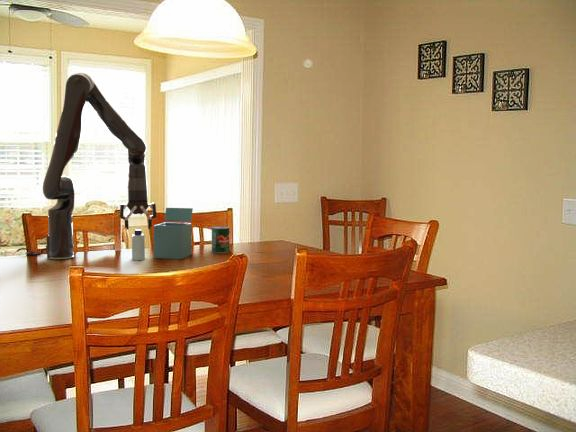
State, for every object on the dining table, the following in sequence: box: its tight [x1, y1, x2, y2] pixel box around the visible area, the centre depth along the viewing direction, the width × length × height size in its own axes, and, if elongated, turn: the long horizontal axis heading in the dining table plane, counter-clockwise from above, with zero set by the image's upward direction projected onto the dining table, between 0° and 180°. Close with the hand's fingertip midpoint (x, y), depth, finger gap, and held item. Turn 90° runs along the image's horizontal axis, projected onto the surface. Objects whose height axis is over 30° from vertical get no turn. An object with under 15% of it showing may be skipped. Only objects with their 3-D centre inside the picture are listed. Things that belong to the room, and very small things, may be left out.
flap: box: [164, 207, 194, 223], centre depth 258 cm, size 12×6×1 cm
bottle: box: [131, 229, 146, 261], centre depth 244 cm, size 5×5×12 cm
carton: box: [153, 221, 192, 260], centre depth 252 cm, size 12×12×14 cm
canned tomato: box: [211, 225, 231, 254], centre depth 266 cm, size 8×8×11 cm
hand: (138, 229), depth 244 cm, fingers open, 8 cm apart
